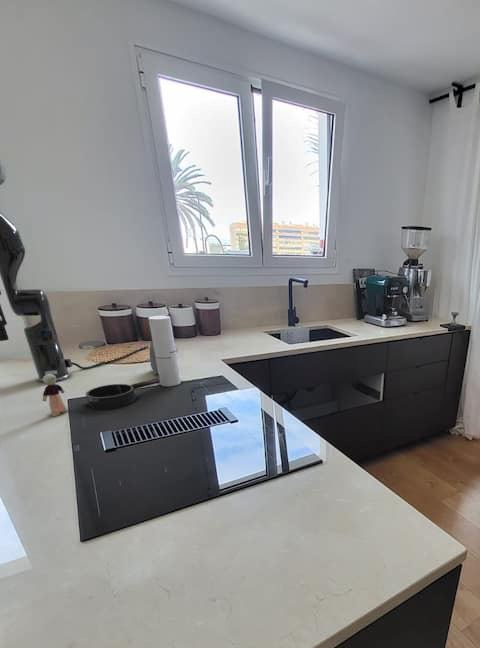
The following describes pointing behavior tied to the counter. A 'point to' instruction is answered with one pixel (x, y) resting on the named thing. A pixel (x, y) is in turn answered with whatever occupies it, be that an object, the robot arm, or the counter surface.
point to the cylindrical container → (164, 350)
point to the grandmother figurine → (53, 395)
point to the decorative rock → (153, 359)
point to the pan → (110, 396)
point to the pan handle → (145, 383)
